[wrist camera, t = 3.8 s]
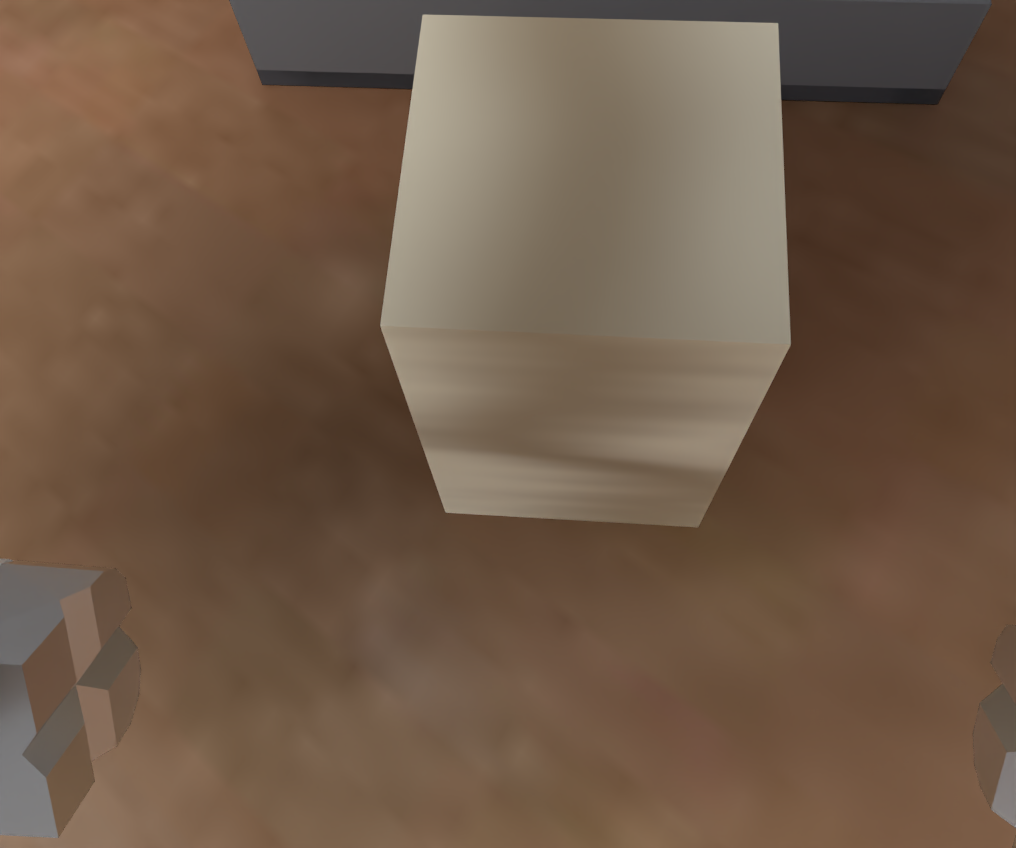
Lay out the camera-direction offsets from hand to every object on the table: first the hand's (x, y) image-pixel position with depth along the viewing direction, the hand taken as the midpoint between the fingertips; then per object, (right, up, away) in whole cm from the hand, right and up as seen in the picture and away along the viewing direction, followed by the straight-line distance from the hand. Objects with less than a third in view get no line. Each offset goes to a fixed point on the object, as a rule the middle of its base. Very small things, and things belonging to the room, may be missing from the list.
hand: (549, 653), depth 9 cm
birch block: (+1, +3, +11) cm, 11 cm away
